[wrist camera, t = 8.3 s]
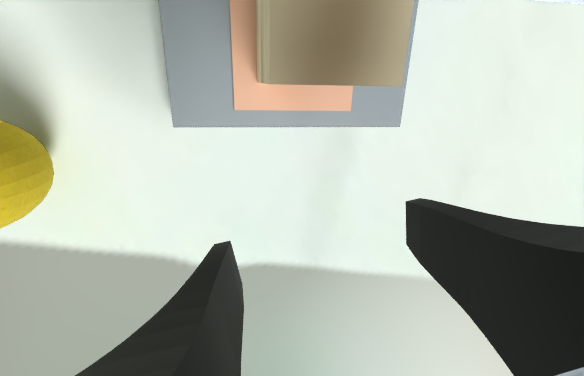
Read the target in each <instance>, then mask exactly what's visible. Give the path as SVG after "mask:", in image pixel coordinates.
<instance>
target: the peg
mask: <svg viewBox="0 0 584 376" xmlns="http://www.w3.org/2000/svg"><path fill="white" fill-rule="evenodd" d="M413 4H414V0H255V6H256V51H257V83H264V84H280V85H338V86H396V87H402V83H403V76H404V69H405V62H406V54H407V47H408V40H409V33H410V26H411V19H412V11H413Z"/></svg>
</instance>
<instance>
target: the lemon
mask: <svg viewBox="0 0 584 376" xmlns="http://www.w3.org/2000/svg"><path fill="white" fill-rule="evenodd" d="M53 175H54V171H53V164H52V160H51V158H50V156H49V153H48V152H47V150H46V149H45V148H44V146H43V145H42V144H41V143H40V142H39V141H38V140H37V139H36V138H35V137H34V136H33V135H31V134H29V133H28V132H26V131H24V130H23V129H21V128H19V127H18V126H15V125H12V124H9V123H7V122H4V121H1V120H0V228H2V227H5V226H7V225H9V224H11V223H13V222H15V221H17V220H19V219H21V218H22V217H24V216H26V215H27V214H28V213H30V212H31V211H32V210H33V209H34V208H35V207H36V206H37V205H39V204H40V203H41V202H42V201H43V199H44V198H45V196H46V195H47V193H48V191H49V189H50V188H51V185H52V181H53Z"/></svg>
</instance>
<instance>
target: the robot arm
mask: <svg viewBox="0 0 584 376" xmlns="http://www.w3.org/2000/svg"><path fill="white" fill-rule="evenodd" d="M535 1H548V2H561V3H574V4H584V0H535ZM406 244H407V246H408V247H409V249H410V250H411V252H412V253H413V255H414V256H415V257H416V259H417V260H418V261H419V263H420V264H421V265H422V266H423V267H424V268H425V269H426V270H427V271H428V272H429V274H430V275H431V276H432V277H433V278H434V279H435V280H436V281H437V282H438V283H439V284H440V285H441V286H442V287H443V288H444V289H445V290H446V291H447V292H448V293H449V294H450V295H451V297H452V298H453V299H455V301H456V302H457V303H458V304H459V305H460V306H461V307H462V308H463V309H464V310H465V312H466V313H467V314H468V315H469V316H470V317H471V319H472V320H473V321H474V323H475V324H476V325H477V326H478V328H479V329H480V330H481V331H482V333H483V334H484V335H485V337H486V338H487V339H488V341H489V342H490V343H491V345H492V346H493V347H494V349H495V350H496V351H497V353H498V354H499V355H500V357H501V358H502V359H503V361H504V362H505V364H506V365H507V366H508V368H509V369H510V371H511V372H512V373H513V375H514V376H584V227H577V226H566V225H555V224H546V223H538V222H531V221H524V220H518V219H512V218H506V217H502V216H497V215H492V214H487V213H483V212H478V211H474V210H470V209H466V208H462V207H458V206H454V205H450V204H446V203H442V202H437V201H433V200H428V199H421V198H419V199H415V200H410V201H406ZM243 314H244V302H243V288H242V282H241V278H240V274H239V270H238V267H237V263H236V260H235V256H234V252H233V249H232V245H231V241H227V242H223V243H218V244H214V246H213V247H212V248H211V250H210V251H209V252H208V254H207V255H206V257H205V258H204V259H203V261H202V262H201V263H200V265H199V266H198V267H197V269H196V270H195V272H194V273H193V274H192V275H191V276H190V278H189V279H188V280H187V281H186V282H185V284H184V285H183V286H182V287H181V288H180V290H179V291H178V292H177V293H176V294H175V295H174V296H173V297H172V298H171V300H169V302H168V303H167V304H166V305H165V306H164V307H163V308H161V309H160V311H158V312H157V314H155V315H154V316H153V317H152V318H151V319H150V320H149V321H147V322H146V323H145V324H144V325H143V326H142V327H140V328H139V329H138V330H137V331H136V332H134V333H133V334H132V335H131V336H130V337H129V338H127V339H126V340H125V341H124V342H122V343H121V344H120V345H118V346H117V347H115V348H114V349H113V350H112V351H110V352H109V353H107V354H106V355H105V356H103V357H102V358H100V359H99V360H98V361H96V362H95V363H93V364H92V365H90V366H89V367H88V368H86V369H85V370H83V371H82V372H80V373H78V374H77V375H75V376H241V350H242V333H243Z"/></svg>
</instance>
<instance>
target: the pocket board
mask: <svg viewBox="0 0 584 376" xmlns="http://www.w3.org/2000/svg"><path fill="white" fill-rule="evenodd" d="M158 1H159V9H160V18H161V26H162V35H163V44H164V52H165V61H166V69H167V78H168V86H169V95H170V104H171V112H172V121H173V127H400V123H401V116H402V109H403V102H404V95H405V89H406V82H407V75H408V68H409V61H410V55H411V48H412V41H413V34H414V27H415V21H416V14H417V7H418V0H414V4H413V11H412V19H411V26H410V33H409V40H408V47H407V54H406V62H405V69H404V76H403V83H402V87H396V86H338V85H280V84H264V83H257V51H256V6H255V0H158Z"/></svg>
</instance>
